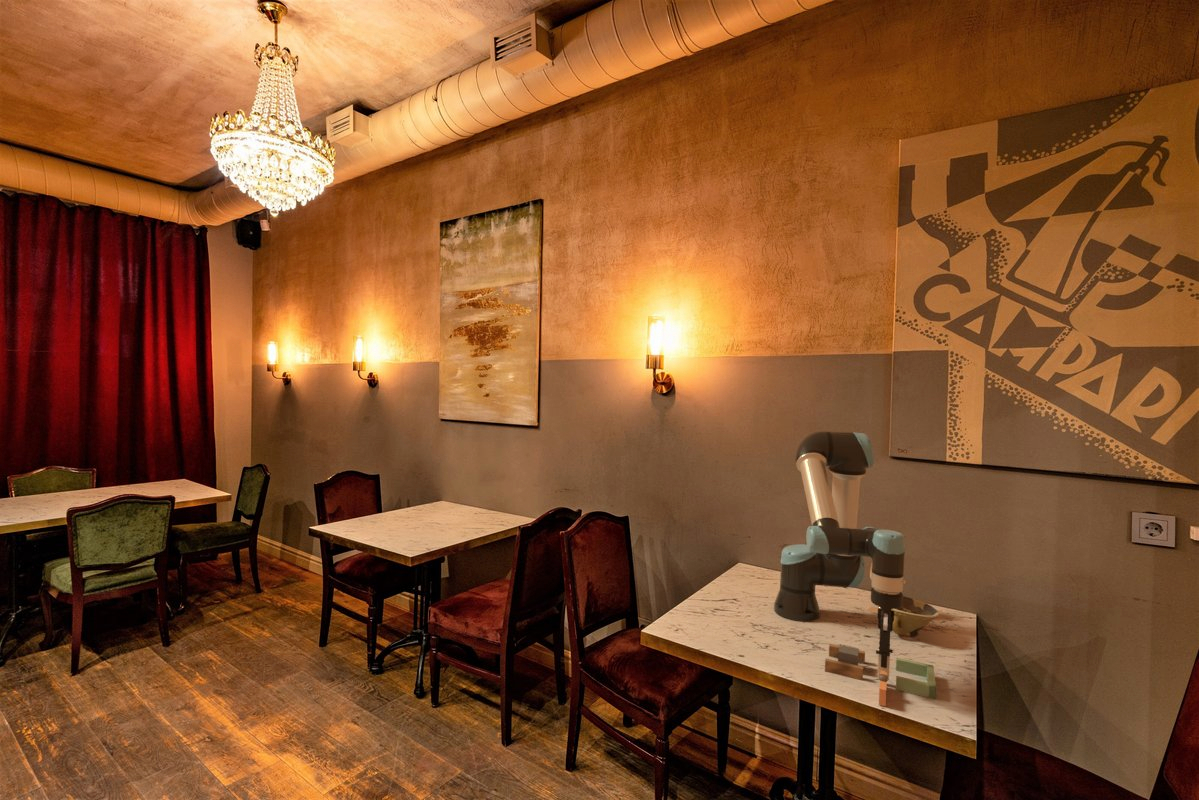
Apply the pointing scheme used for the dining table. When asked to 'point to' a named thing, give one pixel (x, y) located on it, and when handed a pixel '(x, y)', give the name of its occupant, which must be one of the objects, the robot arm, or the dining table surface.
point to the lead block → (848, 655)
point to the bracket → (914, 685)
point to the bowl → (912, 617)
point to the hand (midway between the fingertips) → (883, 677)
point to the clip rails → (844, 664)
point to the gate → (882, 687)
